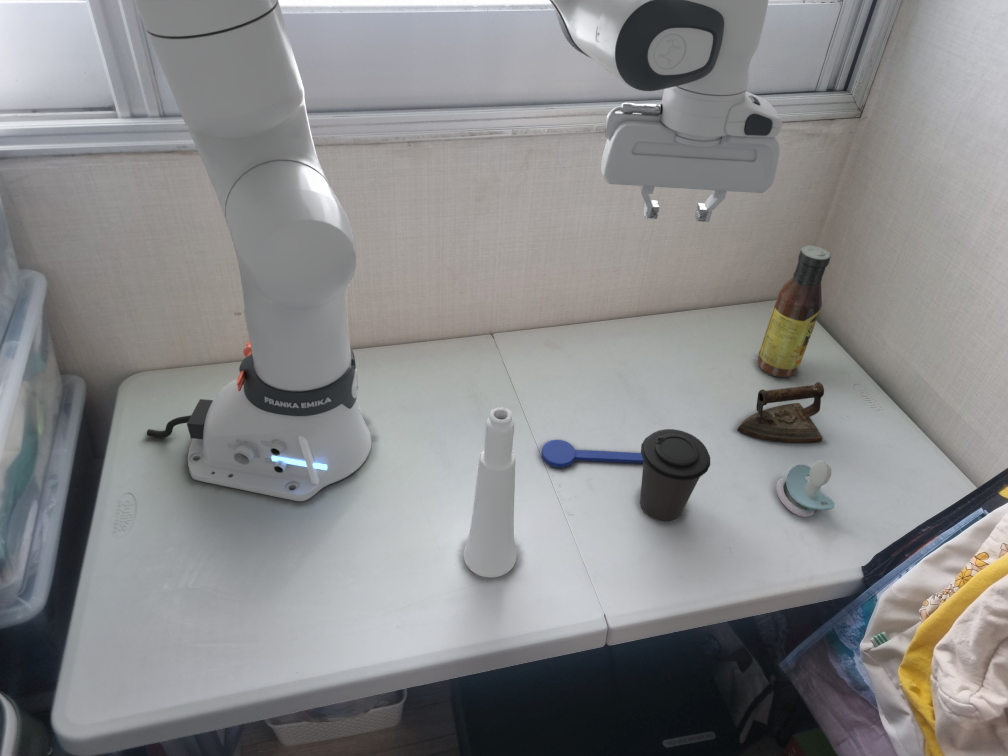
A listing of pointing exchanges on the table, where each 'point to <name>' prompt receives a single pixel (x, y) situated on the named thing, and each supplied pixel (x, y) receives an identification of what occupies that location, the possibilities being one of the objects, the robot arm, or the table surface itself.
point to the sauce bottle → (794, 315)
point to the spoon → (582, 455)
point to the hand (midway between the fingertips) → (675, 218)
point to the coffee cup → (670, 472)
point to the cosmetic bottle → (494, 501)
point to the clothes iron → (785, 416)
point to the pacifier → (806, 488)
